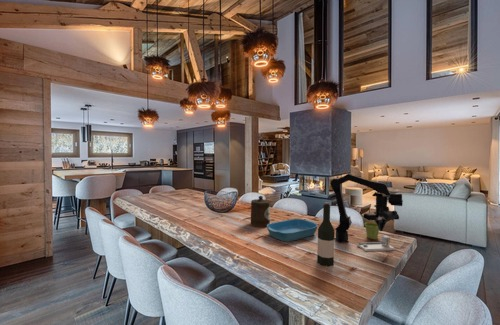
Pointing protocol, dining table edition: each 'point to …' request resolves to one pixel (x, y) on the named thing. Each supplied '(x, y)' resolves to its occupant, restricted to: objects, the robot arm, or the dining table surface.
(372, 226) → the plant pot
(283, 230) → the casserole dish
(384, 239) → the slider
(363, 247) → the plate
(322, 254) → the wine bottle
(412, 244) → the dining table surface
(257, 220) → the wooden container
